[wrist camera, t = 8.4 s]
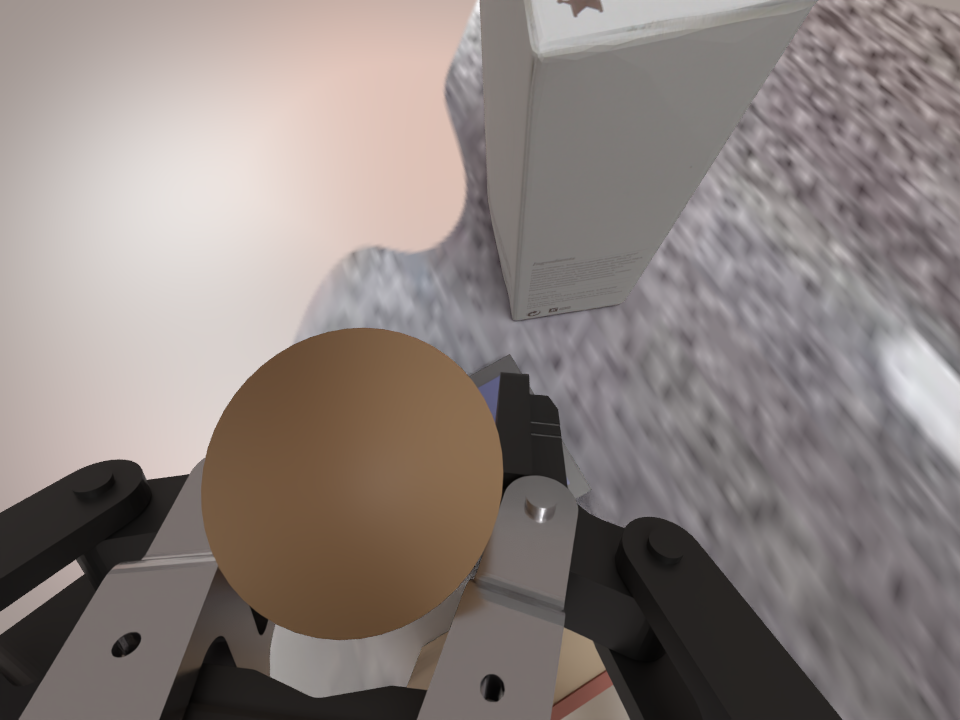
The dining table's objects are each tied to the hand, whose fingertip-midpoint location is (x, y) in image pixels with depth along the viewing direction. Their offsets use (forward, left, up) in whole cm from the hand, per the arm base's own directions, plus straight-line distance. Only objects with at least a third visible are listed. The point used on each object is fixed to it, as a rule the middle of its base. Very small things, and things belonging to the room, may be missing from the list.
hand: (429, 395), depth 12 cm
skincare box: (-9, -6, -10) cm, 15 cm away
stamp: (+1, +2, -5) cm, 5 cm away
